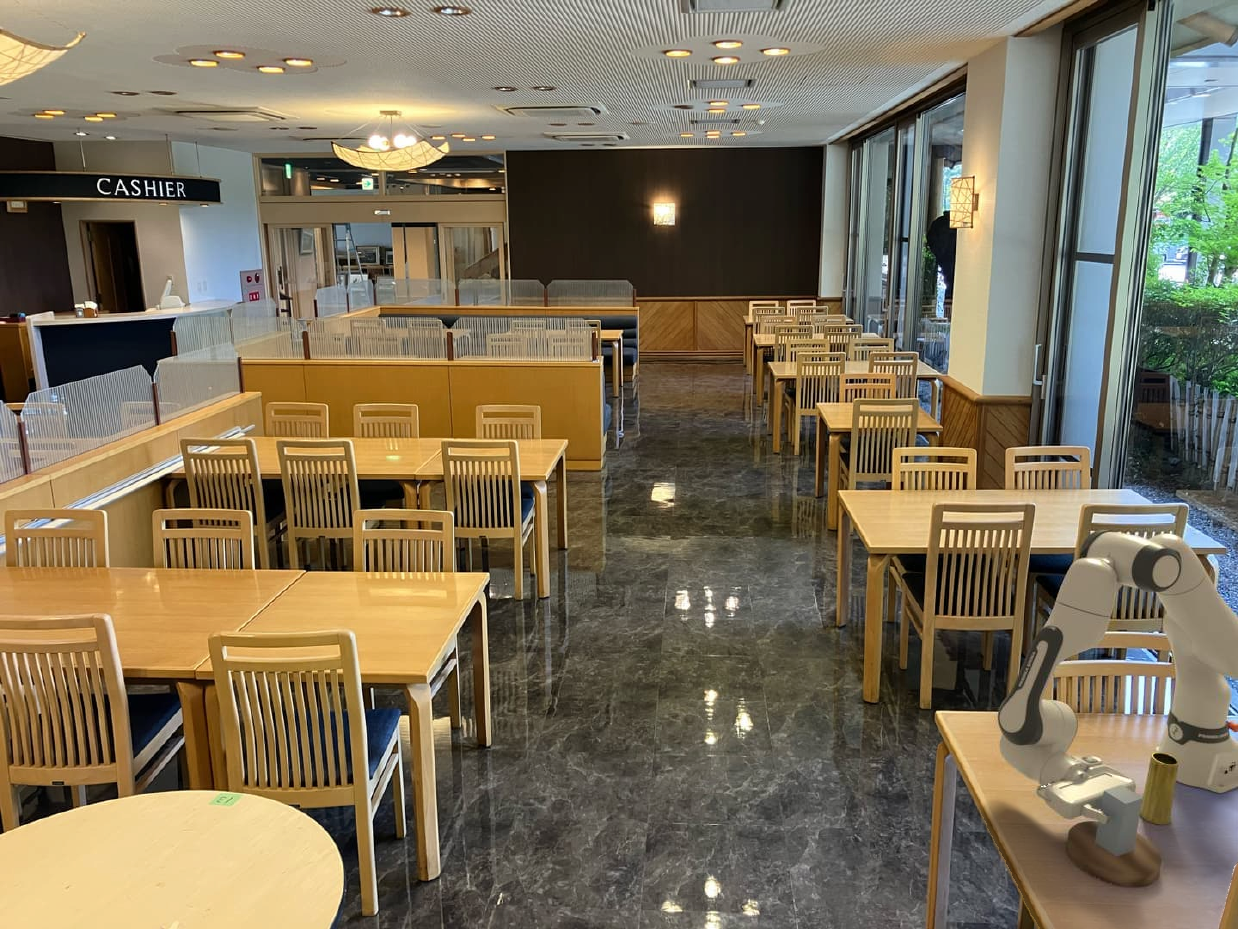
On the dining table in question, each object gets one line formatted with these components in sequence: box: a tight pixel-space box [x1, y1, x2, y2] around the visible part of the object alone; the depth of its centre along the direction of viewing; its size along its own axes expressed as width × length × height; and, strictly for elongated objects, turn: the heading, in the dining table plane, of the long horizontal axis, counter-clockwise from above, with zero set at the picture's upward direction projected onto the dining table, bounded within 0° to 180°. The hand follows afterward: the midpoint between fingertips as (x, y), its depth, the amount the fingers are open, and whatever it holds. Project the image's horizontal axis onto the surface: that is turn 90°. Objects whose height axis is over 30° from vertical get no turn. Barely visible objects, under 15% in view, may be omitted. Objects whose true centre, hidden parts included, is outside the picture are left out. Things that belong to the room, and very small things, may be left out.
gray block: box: [1095, 785, 1143, 857], centre depth 196 cm, size 5×5×12 cm
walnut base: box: [1065, 820, 1163, 888], centre depth 198 cm, size 17×17×3 cm
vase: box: [1140, 751, 1179, 826], centre depth 211 cm, size 6×6×14 cm
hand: (1124, 814), depth 195 cm, fingers open, 8 cm apart
